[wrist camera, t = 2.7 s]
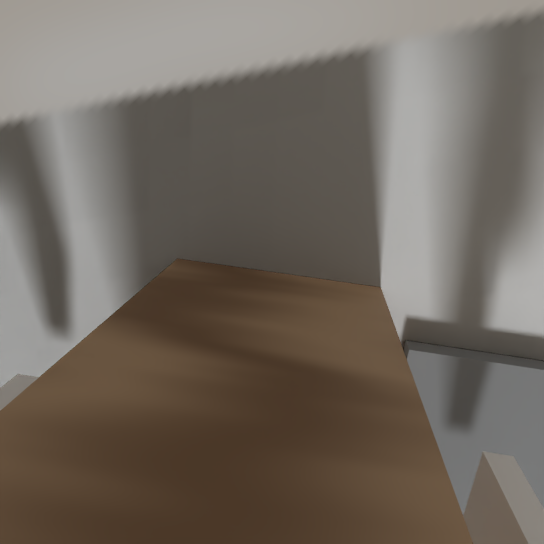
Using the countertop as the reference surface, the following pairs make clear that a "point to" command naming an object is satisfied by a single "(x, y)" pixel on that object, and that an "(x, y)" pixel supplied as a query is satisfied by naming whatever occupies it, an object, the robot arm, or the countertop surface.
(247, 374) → the walnut block
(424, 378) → the mat
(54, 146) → the countertop surface
